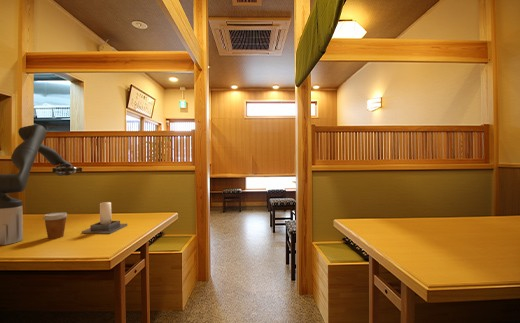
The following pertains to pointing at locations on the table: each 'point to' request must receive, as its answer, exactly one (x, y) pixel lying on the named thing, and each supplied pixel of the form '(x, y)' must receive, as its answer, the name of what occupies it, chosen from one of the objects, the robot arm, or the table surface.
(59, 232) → the disposable coffee cup
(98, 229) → the stand
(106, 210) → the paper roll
